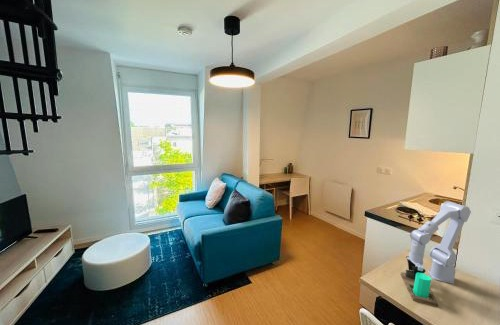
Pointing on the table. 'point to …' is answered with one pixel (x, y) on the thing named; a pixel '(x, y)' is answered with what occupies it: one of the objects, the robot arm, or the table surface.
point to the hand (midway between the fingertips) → (413, 274)
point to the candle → (422, 285)
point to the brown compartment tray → (409, 283)
